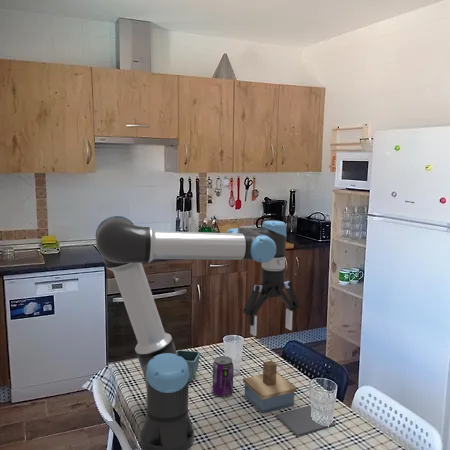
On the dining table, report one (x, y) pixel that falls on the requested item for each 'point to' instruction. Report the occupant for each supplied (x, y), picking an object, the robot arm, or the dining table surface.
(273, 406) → the dish
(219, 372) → the beverage can
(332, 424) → the mat
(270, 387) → the lid
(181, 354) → the flower pot
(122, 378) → the dining table surface
